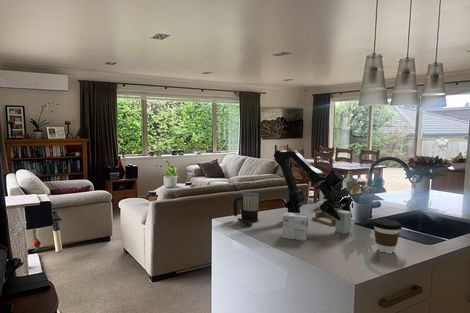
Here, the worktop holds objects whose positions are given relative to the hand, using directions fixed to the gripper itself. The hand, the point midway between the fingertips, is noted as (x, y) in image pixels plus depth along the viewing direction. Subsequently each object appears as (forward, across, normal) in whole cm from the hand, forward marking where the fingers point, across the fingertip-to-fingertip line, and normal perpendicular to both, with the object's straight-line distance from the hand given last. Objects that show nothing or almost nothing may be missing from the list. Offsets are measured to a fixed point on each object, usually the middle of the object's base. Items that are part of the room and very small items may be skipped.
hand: (345, 218), depth 160 cm
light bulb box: (0, -26, +10) cm, 28 cm away
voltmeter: (-23, +46, +33) cm, 61 cm away
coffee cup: (+22, -6, -12) cm, 26 cm away
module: (+4, 0, +6) cm, 7 cm away
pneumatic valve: (-22, +30, +31) cm, 48 cm away
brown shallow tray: (-8, +8, +17) cm, 21 cm away
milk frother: (-22, -30, +32) cm, 49 cm away
